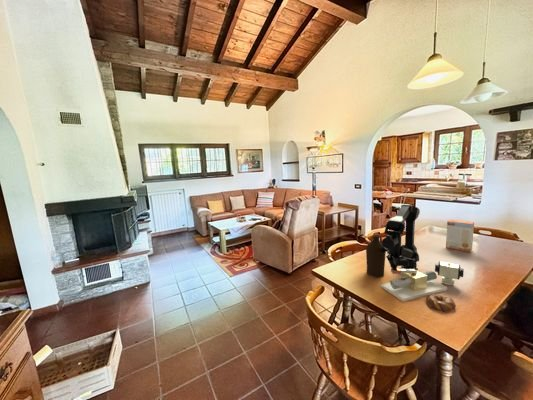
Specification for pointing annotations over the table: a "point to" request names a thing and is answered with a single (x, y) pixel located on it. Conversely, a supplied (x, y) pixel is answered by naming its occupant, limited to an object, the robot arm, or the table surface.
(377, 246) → the olive oil
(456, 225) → the cracker box
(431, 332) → the table surface
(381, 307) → the table surface
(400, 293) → the mount board
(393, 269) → the valve lever
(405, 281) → the valve body
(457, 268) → the pneumatic valve
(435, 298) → the pretzel
